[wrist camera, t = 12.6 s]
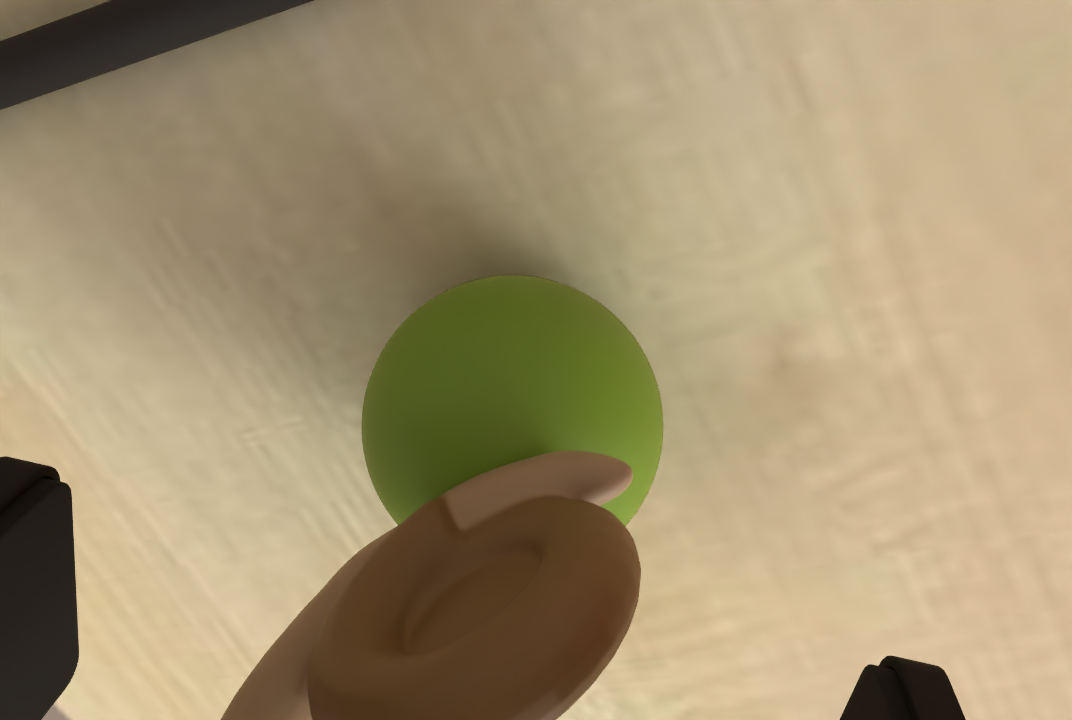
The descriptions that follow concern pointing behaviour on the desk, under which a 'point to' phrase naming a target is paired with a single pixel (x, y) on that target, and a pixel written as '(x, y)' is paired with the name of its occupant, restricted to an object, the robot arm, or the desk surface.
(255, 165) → the desk surface
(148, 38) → the black long thin rod
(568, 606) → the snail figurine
